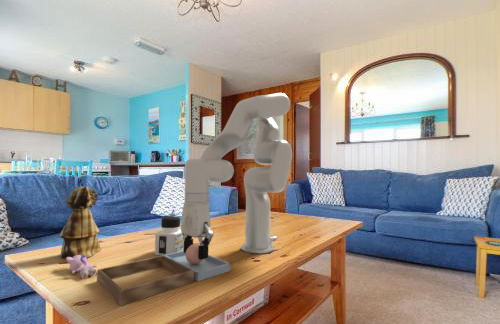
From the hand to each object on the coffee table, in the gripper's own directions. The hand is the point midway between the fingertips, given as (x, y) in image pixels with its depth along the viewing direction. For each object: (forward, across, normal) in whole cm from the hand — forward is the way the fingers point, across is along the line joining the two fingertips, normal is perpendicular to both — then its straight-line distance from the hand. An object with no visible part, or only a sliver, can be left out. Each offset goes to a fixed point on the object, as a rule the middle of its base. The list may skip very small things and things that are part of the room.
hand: (195, 254), depth 81 cm
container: (+4, -18, +1) cm, 18 cm away
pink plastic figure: (+4, -18, -27) cm, 32 cm away
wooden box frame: (+4, +1, -16) cm, 16 cm away
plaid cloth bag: (+4, -36, -24) cm, 43 cm away
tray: (+4, 0, 0) cm, 4 cm away
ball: (+3, 0, 0) cm, 3 cm away
